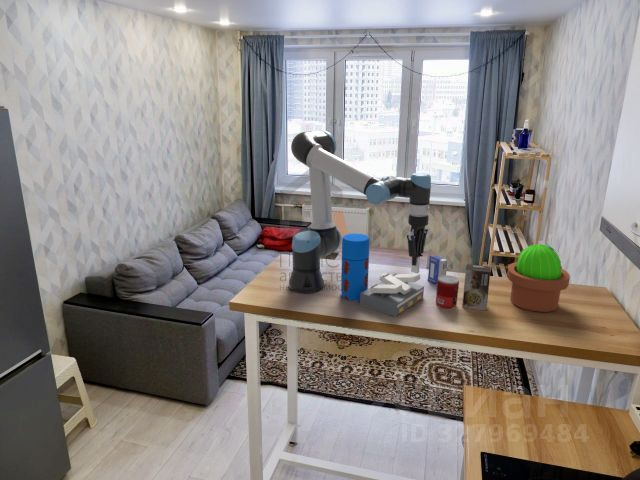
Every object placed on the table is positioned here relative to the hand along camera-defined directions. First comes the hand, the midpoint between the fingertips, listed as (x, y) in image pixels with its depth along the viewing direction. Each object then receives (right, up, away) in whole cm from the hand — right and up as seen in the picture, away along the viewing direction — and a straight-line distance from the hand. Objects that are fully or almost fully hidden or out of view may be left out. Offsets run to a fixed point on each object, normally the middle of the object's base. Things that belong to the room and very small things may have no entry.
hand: (415, 272), depth 184 cm
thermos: (-24, -10, +7) cm, 27 cm away
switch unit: (-9, -12, +2) cm, 15 cm away
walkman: (+13, -6, +20) cm, 25 cm away
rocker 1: (-13, -6, -6) cm, 15 cm away
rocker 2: (-8, -4, -1) cm, 9 cm away
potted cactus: (+47, -13, +1) cm, 49 cm away
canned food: (+12, -13, -1) cm, 18 cm away
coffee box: (+23, -13, -2) cm, 27 cm away
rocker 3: (-4, -3, +4) cm, 6 cm away
